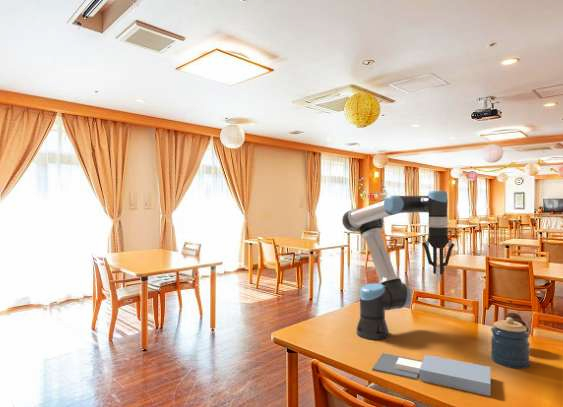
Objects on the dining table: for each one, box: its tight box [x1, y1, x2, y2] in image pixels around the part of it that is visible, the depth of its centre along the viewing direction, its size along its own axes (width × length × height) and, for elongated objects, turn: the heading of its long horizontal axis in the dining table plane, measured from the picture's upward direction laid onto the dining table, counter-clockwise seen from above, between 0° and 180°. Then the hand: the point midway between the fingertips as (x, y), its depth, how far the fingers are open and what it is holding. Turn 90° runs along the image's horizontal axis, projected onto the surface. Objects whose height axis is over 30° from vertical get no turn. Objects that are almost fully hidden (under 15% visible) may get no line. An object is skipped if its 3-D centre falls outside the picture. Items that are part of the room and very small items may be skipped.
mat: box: [371, 352, 423, 380], centre depth 141 cm, size 16×16×1 cm
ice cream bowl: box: [502, 312, 529, 334], centre depth 157 cm, size 11×11×15 cm
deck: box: [418, 354, 492, 397], centre depth 130 cm, size 22×14×4 cm, turn 61°
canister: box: [490, 317, 531, 369], centre depth 144 cm, size 13×13×18 cm
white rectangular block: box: [396, 358, 422, 374], centre depth 138 cm, size 9×6×2 cm, turn 60°
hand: (438, 281), depth 156 cm, fingers closed
